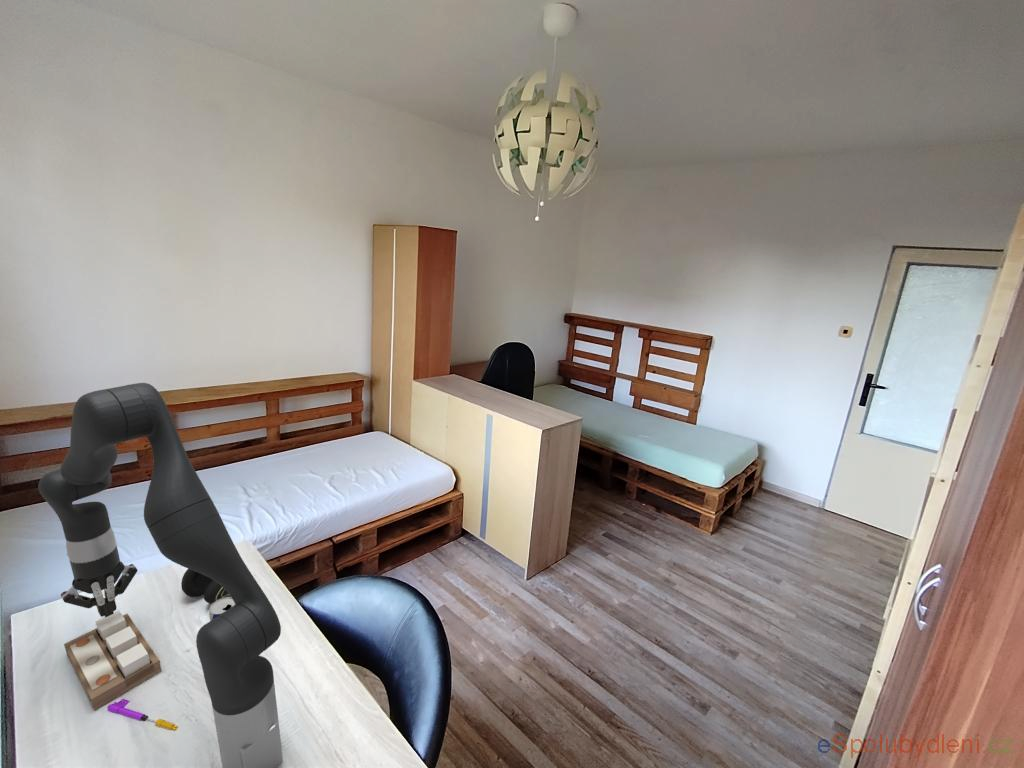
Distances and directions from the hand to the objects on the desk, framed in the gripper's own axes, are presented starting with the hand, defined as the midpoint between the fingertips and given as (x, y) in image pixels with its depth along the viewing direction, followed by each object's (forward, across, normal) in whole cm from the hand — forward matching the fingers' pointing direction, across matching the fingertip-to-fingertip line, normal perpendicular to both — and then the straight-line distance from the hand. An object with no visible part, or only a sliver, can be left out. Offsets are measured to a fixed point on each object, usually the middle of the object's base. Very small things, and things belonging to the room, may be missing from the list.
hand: (108, 613), depth 100 cm
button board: (+7, -2, -7) cm, 10 cm away
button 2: (+5, 0, -14) cm, 15 cm away
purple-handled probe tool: (+8, -2, -26) cm, 27 cm away
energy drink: (+8, +15, -22) cm, 27 cm away
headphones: (+8, +19, -2) cm, 21 cm away
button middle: (+5, 0, -7) cm, 9 cm away
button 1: (+5, 0, 0) cm, 5 cm away
